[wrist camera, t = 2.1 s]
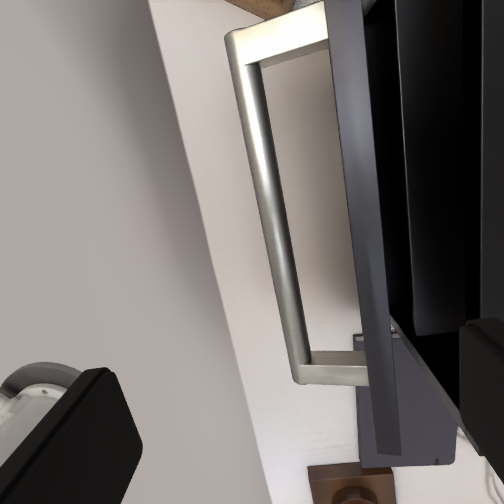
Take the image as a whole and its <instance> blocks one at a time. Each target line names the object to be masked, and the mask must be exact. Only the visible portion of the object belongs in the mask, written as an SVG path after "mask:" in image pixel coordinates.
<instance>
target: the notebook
mask: <svg viewBox="0 0 504 504" xmlns="http://www.w3.org/2000/svg"><path fill="white" fill-rule="evenodd" d="M391 335H392V346H393V358H394V369H395V380H396V391H397V403H398V414H399V425H400V437H401V448H402V457H401V456H392V455H382V454H377V447H376V439H375V431H374V422H373V414H372V405H371V397H370V388H369V386H356V403H357V423H358V443H359V459H360V463H361V466H362V468H376V467H403V466H430V465H450V464H452V463H453V462H454V461H455V450H456V435H457V422H456V420H455V419H454V417H453V416H452V414H451V413H450V411H449V410H448V408H447V407H446V405H445V404H444V402H443V401H442V399H441V398H440V396H439V395H438V393H437V392H436V391H435V389H434V388H433V386H432V385H431V383H430V382H429V380H428V379H427V377H426V376H425V374H424V373H423V371H422V370H421V368H420V367H419V365H418V364H417V362H416V361H415V359H414V358H413V356H412V355H411V353H410V352H409V350H408V349H407V347H406V346H405V344H404V343H403V341H402V340H401V338H400V337H399V335H398V334H397V332H391ZM353 344H354V351H365V348H364V340H363V334H361V335H353Z"/></svg>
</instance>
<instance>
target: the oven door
mask: <svg viewBox="0 0 504 504" xmlns="http://www.w3.org/2000/svg"><path fill="white" fill-rule="evenodd" d="M224 41H225V46H226V51H227V56H228V61H229V66H230V71H231V76H232V81H233V86H234V91H235V96H236V101H237V105H238V110H239V115H240V120H241V125H242V130H243V135H244V140H245V145H246V150H247V155H248V160H249V165H250V170H251V175H252V180H253V185H254V190H255V195H256V200H257V204H258V209H259V214H260V219H261V224H262V229H263V234H264V239H265V244H266V249H267V254H268V259H269V264H270V269H271V274H272V279H273V284H274V289H275V294H276V299H277V303H278V308H279V313H280V318H281V323H282V328H283V333H284V338H285V343H286V348H287V353H288V358H289V363H290V368H291V373H292V378H293V380H294V382H295V383H297V384H300V385H306V384H323V385H348V386H369V388H370V397H371V405H372V414H373V422H374V431H375V439H376V447H377V454H382V455H392V456H401V457H402V448H401V437H400V425H399V414H398V403H397V391H396V380H395V369H394V358H393V346H392V335H391V324H390V312H389V301H388V290H387V278H386V267H385V256H384V244H383V233H382V222H381V210H380V199H379V188H378V176H377V165H376V154H375V142H374V131H373V120H372V109H371V97H370V86H369V75H368V63H367V52H366V41H365V29H364V18H363V7H362V0H321V1H318V2H315V3H312V4H310V5H307V6H304V7H302V8H299V9H296V10H293V11H291V12H288V13H285V14H282V15H280V16H277V17H274V18H271V19H269V20H266V21H263V22H260V23H258V24H255V25H252V26H249V27H247V28H239V29H235V30H232V31H230V32H229V33H227V34H226V35H225V36H224ZM326 48H329V53H330V61H331V70H332V78H333V87H334V95H335V103H336V112H337V120H338V129H339V137H340V146H341V154H342V163H343V171H344V179H345V188H346V196H347V205H348V213H349V222H350V230H351V238H352V247H353V255H354V264H355V272H356V281H357V289H358V298H359V306H360V314H361V323H362V331H363V340H364V348H365V351H311V350H310V345H309V339H308V333H307V328H306V322H305V316H304V311H303V305H302V299H301V294H300V288H299V282H298V277H297V271H296V265H295V260H294V254H293V248H292V243H291V237H290V231H289V226H288V220H287V214H286V209H285V203H284V197H283V192H282V186H281V180H280V175H279V169H278V164H277V158H276V152H275V147H274V141H273V135H272V130H271V124H270V118H269V113H268V107H267V101H266V96H265V90H264V84H263V79H262V73H261V69H262V68H265V67H268V66H271V65H275V64H278V63H281V62H284V61H287V60H291V59H294V58H297V57H300V56H303V55H307V54H310V53H313V52H316V51H320V50H323V49H326Z"/></svg>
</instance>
